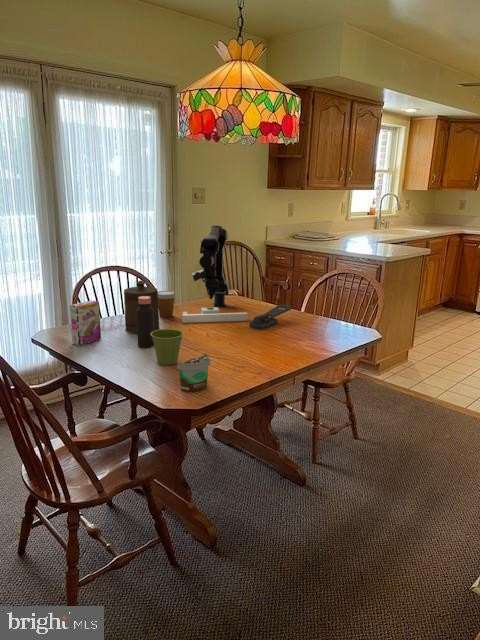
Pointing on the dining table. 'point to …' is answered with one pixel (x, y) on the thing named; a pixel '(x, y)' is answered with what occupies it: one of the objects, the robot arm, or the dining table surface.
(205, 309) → the cabinet block
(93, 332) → the candy bar box
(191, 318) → the cleat board
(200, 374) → the food container
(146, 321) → the bottle
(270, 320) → the dark grey elongated piece
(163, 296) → the disposable coffee cup
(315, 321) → the dining table surface
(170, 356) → the plant pot
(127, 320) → the wooden container
